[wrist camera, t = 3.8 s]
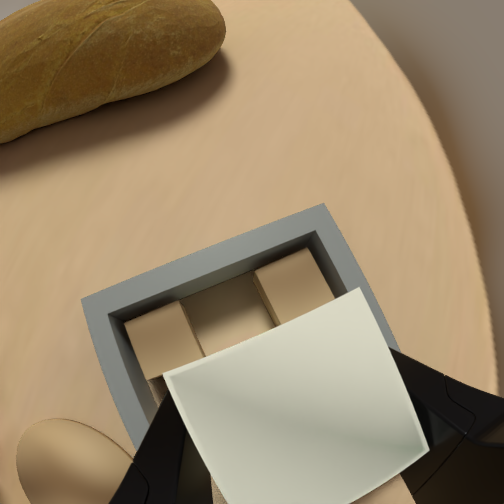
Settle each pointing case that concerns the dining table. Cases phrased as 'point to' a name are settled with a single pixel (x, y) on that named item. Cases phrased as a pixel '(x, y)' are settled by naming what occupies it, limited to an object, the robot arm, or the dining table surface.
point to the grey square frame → (204, 276)
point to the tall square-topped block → (302, 410)
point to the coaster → (69, 463)
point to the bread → (97, 55)
